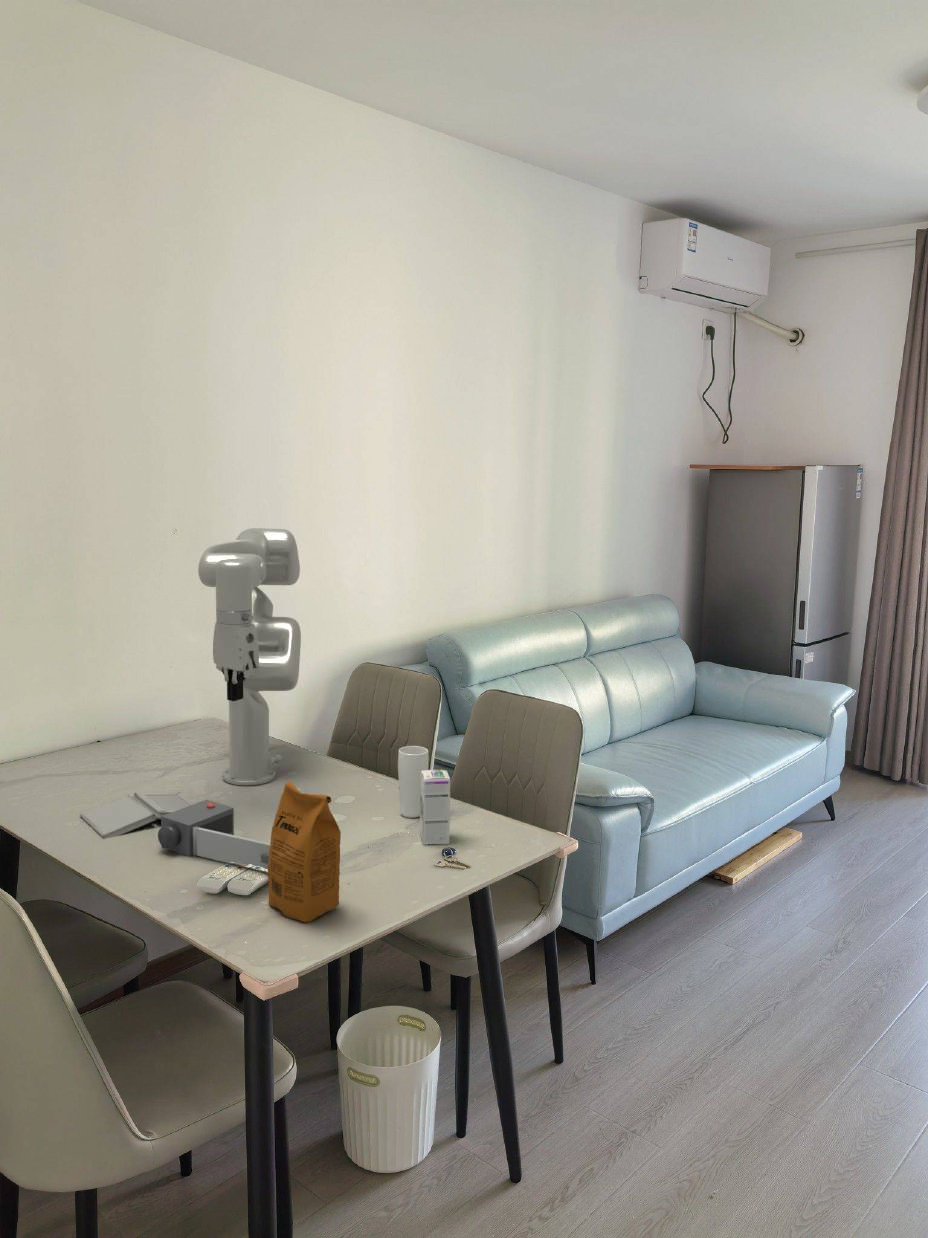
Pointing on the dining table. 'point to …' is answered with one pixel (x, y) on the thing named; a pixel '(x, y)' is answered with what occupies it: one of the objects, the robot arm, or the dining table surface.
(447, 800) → the syrup box
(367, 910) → the dining table surface
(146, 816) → the gadget
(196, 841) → the side door
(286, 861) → the coffee package
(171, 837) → the gray box with knob
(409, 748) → the drinking glass
